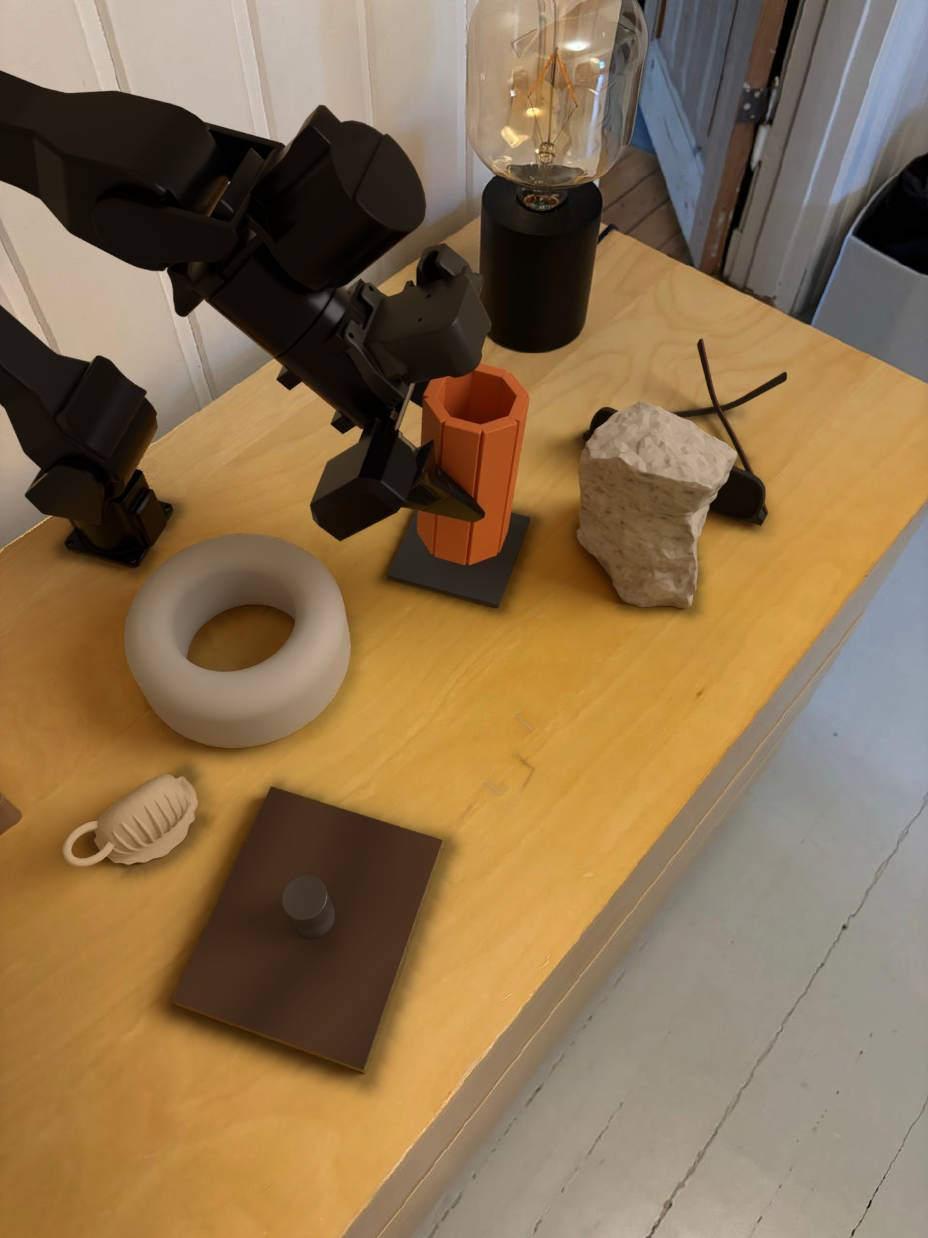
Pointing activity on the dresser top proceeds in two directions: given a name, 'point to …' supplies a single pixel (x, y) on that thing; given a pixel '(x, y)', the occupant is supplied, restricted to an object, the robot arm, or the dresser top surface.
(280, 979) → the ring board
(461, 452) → the octagonal orange vase
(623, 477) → the decorative stone
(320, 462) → the dresser top surface
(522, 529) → the felt mat
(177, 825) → the decorative ornament
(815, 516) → the dresser top surface
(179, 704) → the fat ring
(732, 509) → the sunglasses
